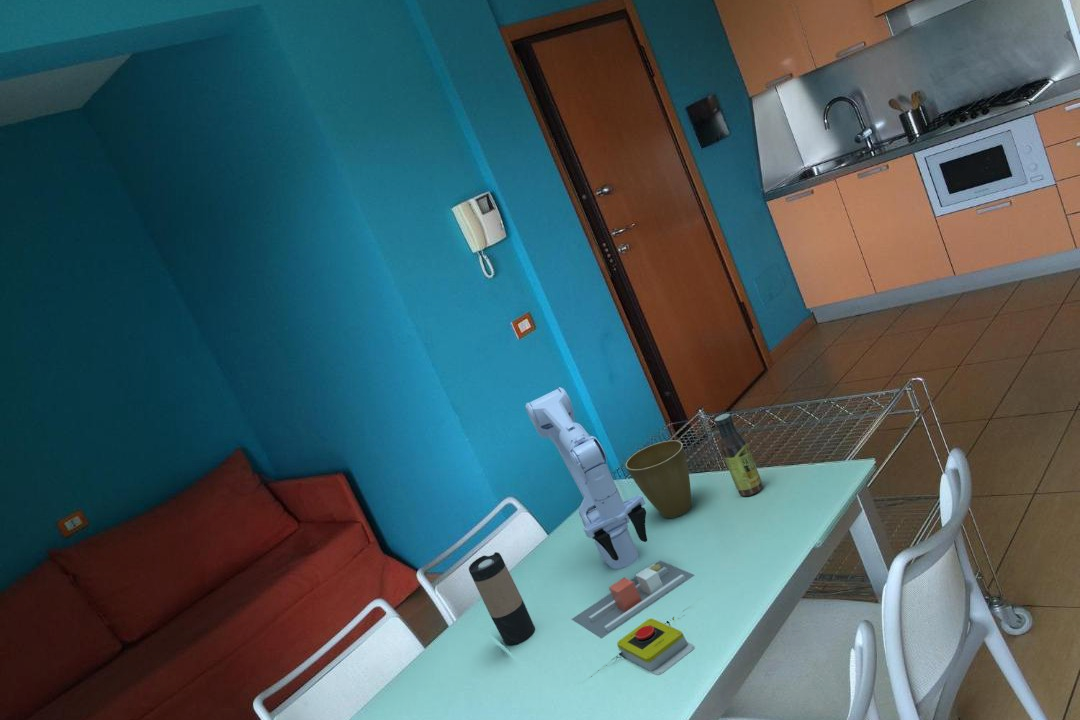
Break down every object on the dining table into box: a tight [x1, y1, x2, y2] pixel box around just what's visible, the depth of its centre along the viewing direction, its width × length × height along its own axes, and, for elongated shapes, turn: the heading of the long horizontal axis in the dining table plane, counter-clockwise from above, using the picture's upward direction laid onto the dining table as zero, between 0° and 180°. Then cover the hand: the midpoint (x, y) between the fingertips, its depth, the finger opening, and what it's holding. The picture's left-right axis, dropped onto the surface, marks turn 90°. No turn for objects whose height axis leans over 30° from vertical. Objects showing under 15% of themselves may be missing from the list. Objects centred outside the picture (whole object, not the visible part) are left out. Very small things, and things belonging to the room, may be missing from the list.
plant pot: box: [625, 439, 692, 519], centre depth 226 cm, size 15×15×16 cm
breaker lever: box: [635, 567, 663, 595], centre depth 191 cm, size 4×3×4 cm
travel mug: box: [468, 552, 536, 647], centre depth 196 cm, size 8×8×20 cm
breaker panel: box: [571, 560, 695, 639], centre depth 192 cm, size 14×24×2 cm, turn 114°
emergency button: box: [617, 618, 696, 676], centre depth 172 cm, size 9×4×15 cm
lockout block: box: [608, 577, 642, 612], centre depth 189 cm, size 4×4×5 cm
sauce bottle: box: [714, 413, 763, 497], centre depth 219 cm, size 7×6×20 cm
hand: (629, 549), depth 195 cm, fingers open, 7 cm apart
